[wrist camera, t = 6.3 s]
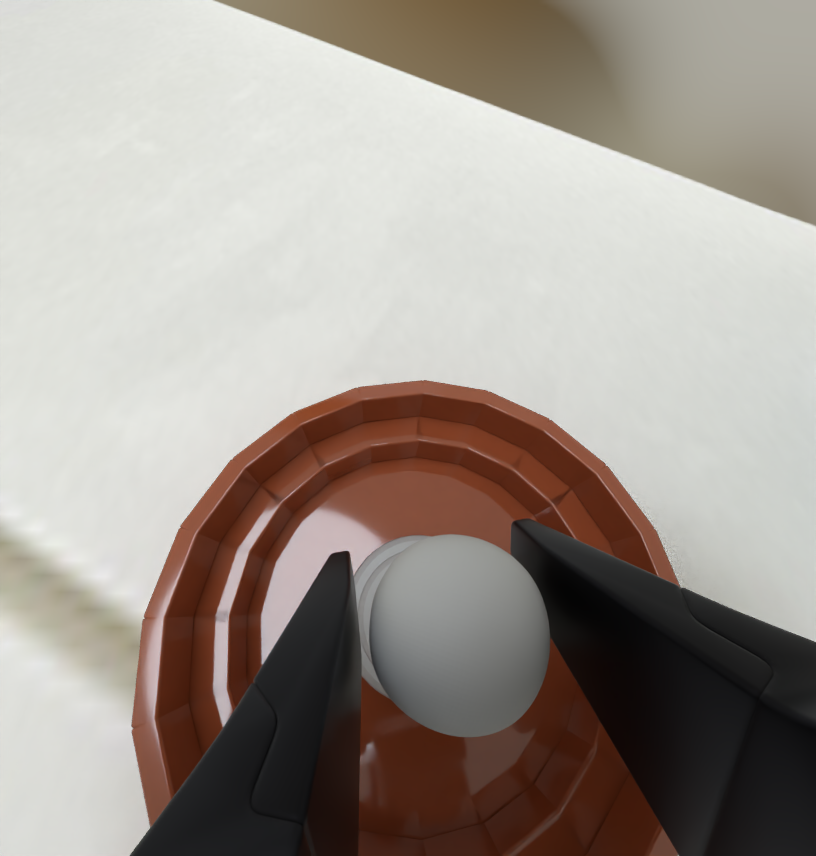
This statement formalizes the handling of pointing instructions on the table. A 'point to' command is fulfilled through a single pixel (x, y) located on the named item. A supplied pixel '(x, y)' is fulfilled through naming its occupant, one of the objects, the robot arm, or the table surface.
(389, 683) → the chess piece
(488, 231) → the table surface
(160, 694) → the bowl
